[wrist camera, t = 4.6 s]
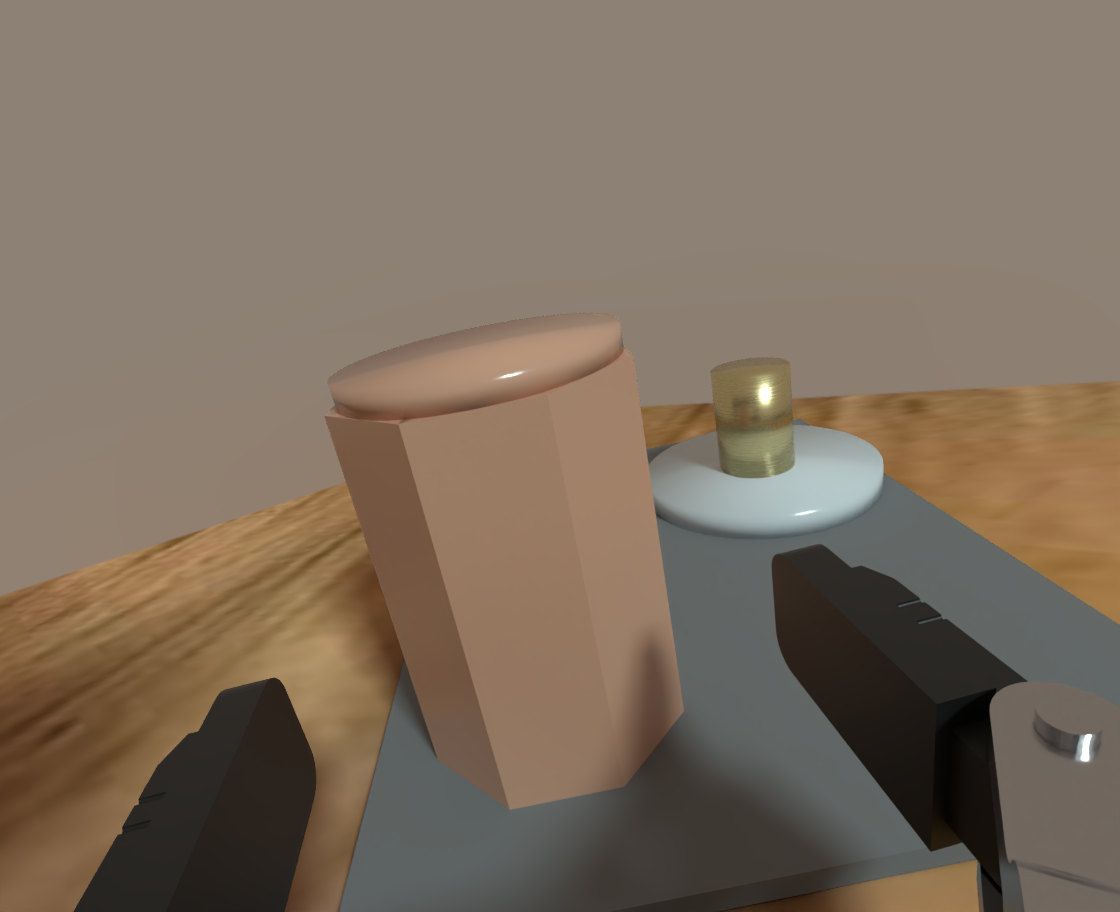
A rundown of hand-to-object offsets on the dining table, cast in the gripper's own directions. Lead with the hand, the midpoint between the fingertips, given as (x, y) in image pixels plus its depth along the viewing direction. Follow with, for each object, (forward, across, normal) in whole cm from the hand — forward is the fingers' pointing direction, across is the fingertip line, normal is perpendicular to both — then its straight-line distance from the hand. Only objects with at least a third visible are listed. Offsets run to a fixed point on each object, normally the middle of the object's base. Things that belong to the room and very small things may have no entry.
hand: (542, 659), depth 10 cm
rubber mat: (+12, -6, +7) cm, 14 cm away
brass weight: (+16, -11, +5) cm, 20 cm away
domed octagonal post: (+6, 0, +6) cm, 8 cm away
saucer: (+16, -11, +6) cm, 20 cm away
